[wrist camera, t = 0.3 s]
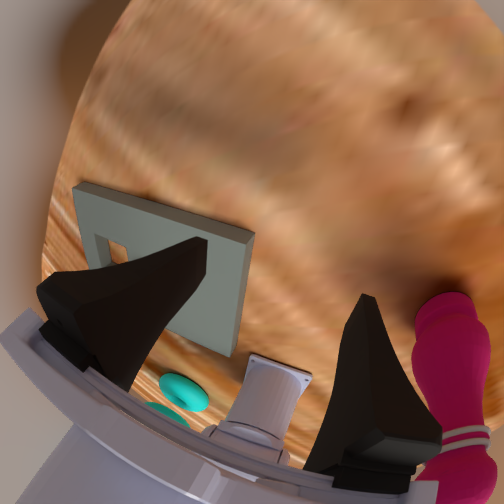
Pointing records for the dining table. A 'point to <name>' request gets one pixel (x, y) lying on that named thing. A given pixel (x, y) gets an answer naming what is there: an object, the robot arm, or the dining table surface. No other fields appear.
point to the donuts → (180, 396)
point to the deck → (163, 236)
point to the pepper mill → (455, 396)
